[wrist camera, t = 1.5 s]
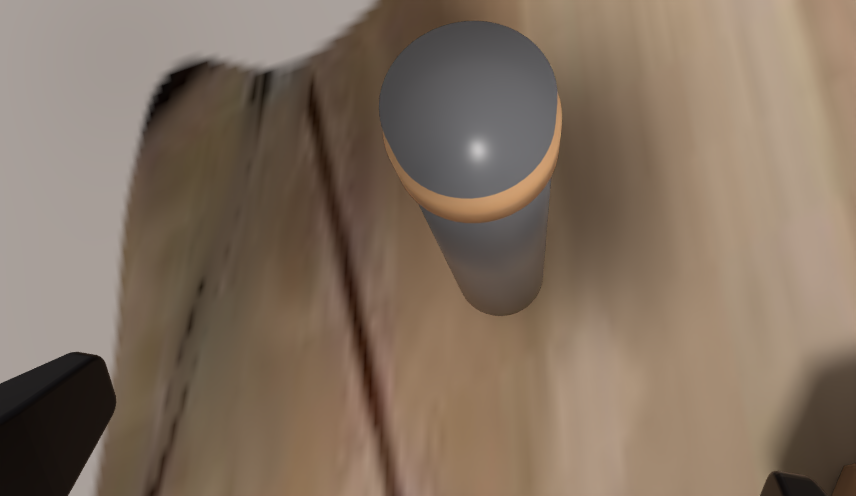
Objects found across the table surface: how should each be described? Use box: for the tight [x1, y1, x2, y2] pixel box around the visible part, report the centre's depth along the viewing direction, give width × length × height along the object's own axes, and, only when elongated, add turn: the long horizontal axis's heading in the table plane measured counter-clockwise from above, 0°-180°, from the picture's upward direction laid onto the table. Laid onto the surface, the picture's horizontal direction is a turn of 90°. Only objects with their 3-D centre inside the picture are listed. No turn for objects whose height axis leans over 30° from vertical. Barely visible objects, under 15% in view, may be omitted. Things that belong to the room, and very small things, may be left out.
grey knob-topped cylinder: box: [379, 21, 562, 316], centre depth 16 cm, size 3×3×12 cm
